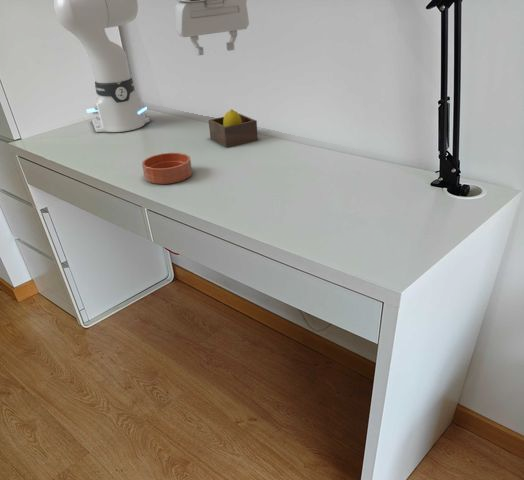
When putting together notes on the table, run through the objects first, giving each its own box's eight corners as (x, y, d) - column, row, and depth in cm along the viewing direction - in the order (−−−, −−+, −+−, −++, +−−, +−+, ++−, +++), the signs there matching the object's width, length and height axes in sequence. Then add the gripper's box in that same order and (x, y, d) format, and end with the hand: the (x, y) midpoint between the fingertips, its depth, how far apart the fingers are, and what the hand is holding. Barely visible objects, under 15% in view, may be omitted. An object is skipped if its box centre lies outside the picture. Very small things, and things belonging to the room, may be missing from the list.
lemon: (245, 138, 149) (243, 110, 144) (228, 141, 147) (225, 113, 142) (238, 134, 153) (236, 106, 148) (222, 137, 151) (219, 108, 146)
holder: (210, 139, 152) (208, 120, 149) (240, 132, 156) (239, 113, 153) (226, 147, 145) (224, 127, 142) (257, 140, 149) (256, 120, 145)
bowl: (138, 174, 131) (135, 159, 129) (180, 164, 136) (178, 149, 133) (155, 188, 123) (152, 172, 120) (200, 177, 127) (198, 161, 125)
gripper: (239, -14, 133) (242, 46, 142) (169, -7, 125) (177, 55, 134) (251, -13, 129) (254, 49, 137) (179, -6, 121) (186, 59, 130)
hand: (215, 52), depth 136 cm, fingers open, 8 cm apart
